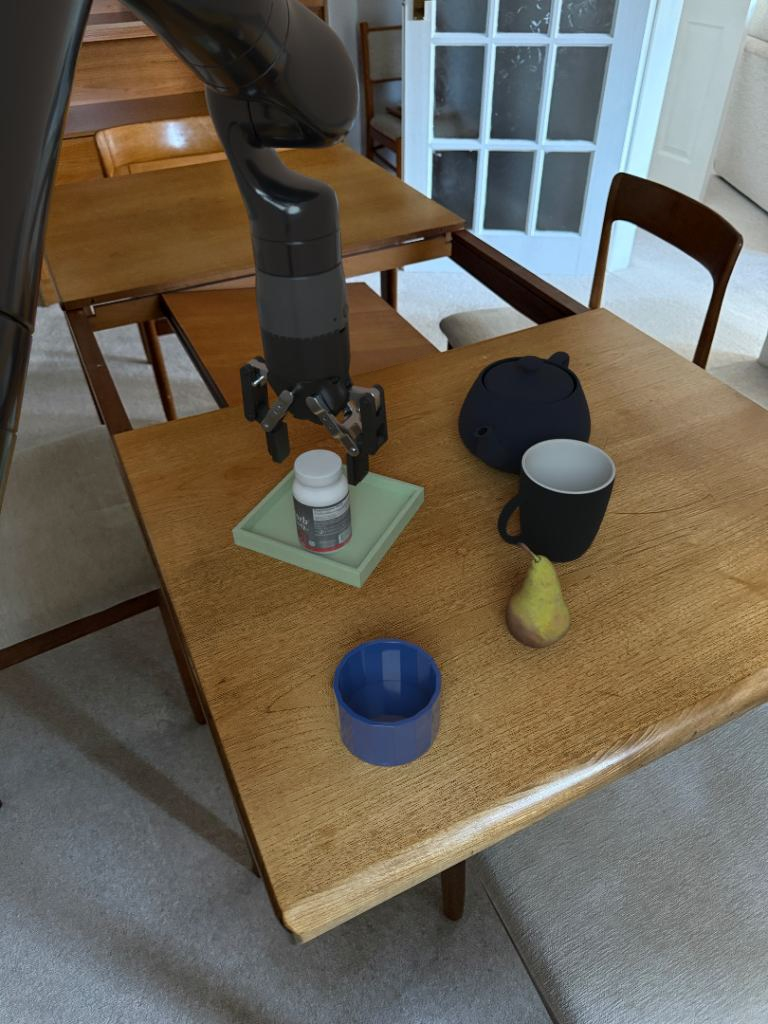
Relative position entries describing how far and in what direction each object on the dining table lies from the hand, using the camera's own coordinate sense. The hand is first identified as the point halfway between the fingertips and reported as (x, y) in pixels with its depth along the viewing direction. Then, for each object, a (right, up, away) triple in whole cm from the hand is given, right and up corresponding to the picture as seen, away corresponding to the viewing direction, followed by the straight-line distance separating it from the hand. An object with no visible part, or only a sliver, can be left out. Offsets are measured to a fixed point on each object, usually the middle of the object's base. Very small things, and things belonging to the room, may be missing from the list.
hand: (318, 469), depth 73 cm
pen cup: (+7, -22, -11) cm, 25 cm away
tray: (+1, -5, +9) cm, 10 cm away
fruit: (+20, -16, -4) cm, 26 cm away
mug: (+23, -8, +5) cm, 25 cm away
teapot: (+23, +3, +18) cm, 29 cm away
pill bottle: (0, -7, +6) cm, 9 cm away
